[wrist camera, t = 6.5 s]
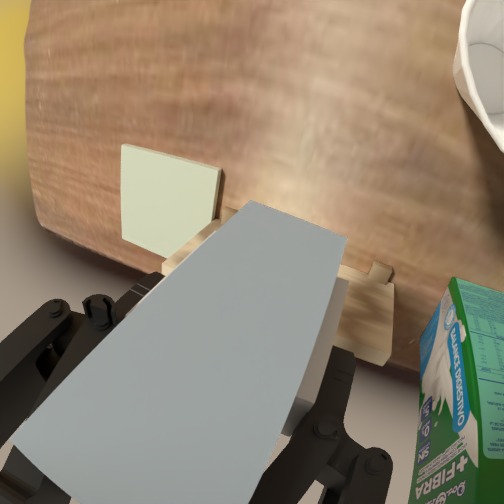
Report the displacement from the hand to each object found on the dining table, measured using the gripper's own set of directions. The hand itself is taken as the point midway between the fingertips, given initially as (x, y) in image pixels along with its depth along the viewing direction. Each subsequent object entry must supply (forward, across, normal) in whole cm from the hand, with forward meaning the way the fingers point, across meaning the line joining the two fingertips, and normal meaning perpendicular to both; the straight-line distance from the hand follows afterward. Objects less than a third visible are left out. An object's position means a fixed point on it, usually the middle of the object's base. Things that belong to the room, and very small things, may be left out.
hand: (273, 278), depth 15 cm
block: (+2, 0, 0) cm, 2 cm away
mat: (+16, -17, -9) cm, 25 cm away
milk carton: (+16, +20, -8) cm, 27 cm away
